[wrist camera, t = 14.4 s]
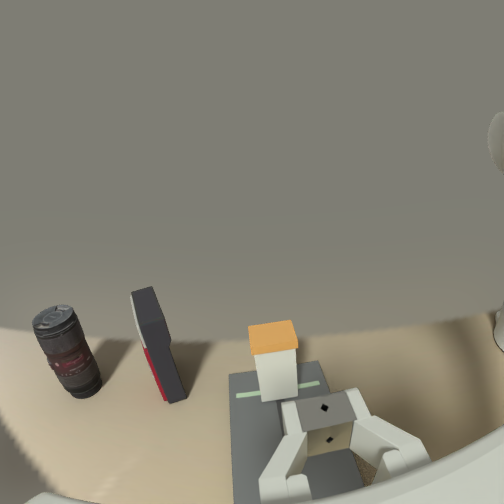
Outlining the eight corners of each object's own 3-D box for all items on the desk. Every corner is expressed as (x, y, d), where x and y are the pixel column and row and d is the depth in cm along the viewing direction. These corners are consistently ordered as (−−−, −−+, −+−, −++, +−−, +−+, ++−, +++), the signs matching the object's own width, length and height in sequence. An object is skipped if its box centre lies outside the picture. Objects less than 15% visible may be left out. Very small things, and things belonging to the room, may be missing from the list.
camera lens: (95, 404, 42) (56, 330, 37) (60, 398, 43) (21, 328, 37) (112, 374, 50) (82, 302, 44) (78, 371, 50) (47, 303, 45)
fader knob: (294, 375, 44) (290, 319, 40) (300, 397, 40) (297, 340, 36) (257, 381, 44) (247, 326, 40) (259, 403, 39) (250, 347, 36)
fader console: (317, 366, 47) (317, 359, 47) (364, 494, 25) (366, 490, 24) (230, 379, 47) (228, 373, 46) (236, 517, 24) (234, 514, 24)
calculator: (152, 366, 51) (126, 292, 46) (174, 359, 53) (151, 285, 48) (165, 406, 42) (132, 326, 37) (191, 398, 43) (164, 316, 38)
